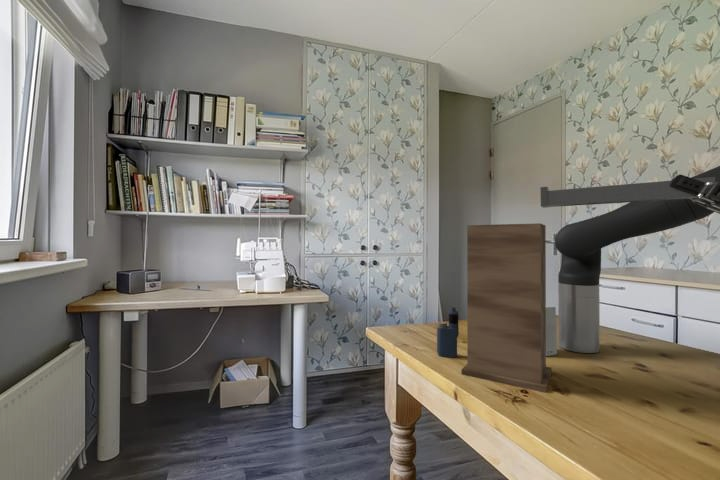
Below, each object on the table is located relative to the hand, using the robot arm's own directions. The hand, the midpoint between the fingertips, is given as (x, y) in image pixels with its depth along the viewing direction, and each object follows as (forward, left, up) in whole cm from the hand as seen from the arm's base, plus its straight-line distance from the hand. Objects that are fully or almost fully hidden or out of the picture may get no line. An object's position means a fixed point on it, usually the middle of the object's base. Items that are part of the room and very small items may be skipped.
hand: (672, 181), depth 59 cm
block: (0, -7, -3) cm, 8 cm away
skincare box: (-20, -22, -39) cm, 49 cm away
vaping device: (-4, -41, -39) cm, 57 cm away
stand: (0, -27, -39) cm, 47 cm away
